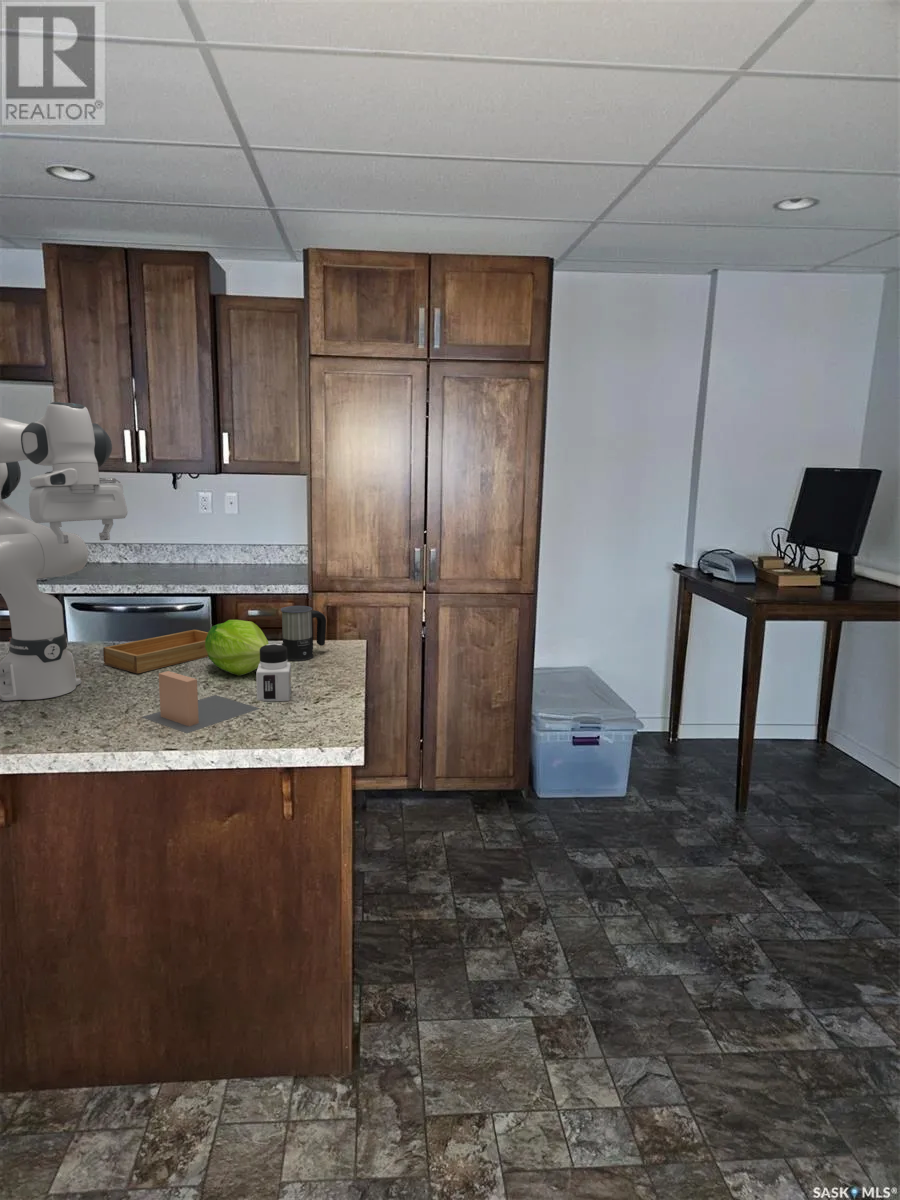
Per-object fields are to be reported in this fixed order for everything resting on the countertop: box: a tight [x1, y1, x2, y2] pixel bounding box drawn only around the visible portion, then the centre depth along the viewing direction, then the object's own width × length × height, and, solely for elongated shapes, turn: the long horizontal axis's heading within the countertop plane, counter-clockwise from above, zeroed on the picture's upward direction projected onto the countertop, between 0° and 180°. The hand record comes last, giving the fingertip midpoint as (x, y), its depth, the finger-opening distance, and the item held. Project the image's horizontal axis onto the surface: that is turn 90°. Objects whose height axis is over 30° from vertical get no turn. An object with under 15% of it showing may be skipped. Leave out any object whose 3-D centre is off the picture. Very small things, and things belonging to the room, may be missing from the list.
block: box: [158, 670, 199, 726], centre depth 161 cm, size 10×3×10 cm, turn 56°
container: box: [255, 643, 292, 703], centre depth 179 cm, size 8×8×13 cm
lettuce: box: [205, 619, 269, 676], centre depth 200 cm, size 15×23×16 cm
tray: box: [103, 629, 209, 674], centre depth 212 cm, size 31×15×6 cm, turn 147°
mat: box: [141, 694, 261, 734], centre depth 167 cm, size 16×20×1 cm
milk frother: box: [280, 605, 327, 662], centre depth 219 cm, size 14×16×15 cm
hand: (84, 541), depth 160 cm, fingers open, 8 cm apart
